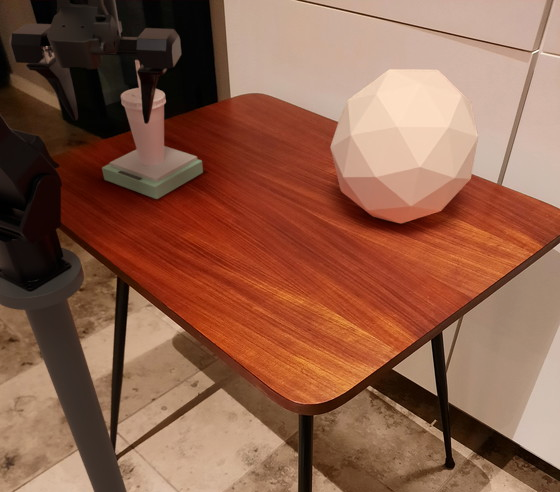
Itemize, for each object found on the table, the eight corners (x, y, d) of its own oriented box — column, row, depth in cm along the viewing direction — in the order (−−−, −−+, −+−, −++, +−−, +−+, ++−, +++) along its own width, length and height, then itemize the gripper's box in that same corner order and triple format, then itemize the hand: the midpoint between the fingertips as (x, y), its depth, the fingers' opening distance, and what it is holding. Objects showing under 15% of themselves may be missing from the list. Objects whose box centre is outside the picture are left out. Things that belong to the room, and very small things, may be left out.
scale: (156, 199, 84) (154, 183, 82) (104, 179, 88) (100, 163, 86) (203, 172, 90) (201, 156, 88) (152, 155, 94) (149, 140, 92)
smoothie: (165, 149, 90) (153, 52, 80) (178, 165, 86) (167, 65, 76) (126, 155, 88) (109, 57, 78) (137, 172, 84) (121, 71, 74)
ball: (419, 251, 88) (532, 172, 72) (324, 243, 75) (436, 146, 60) (381, 149, 92) (481, 55, 77) (286, 126, 80) (381, 8, 65)
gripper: (-36, -15, 55) (14, 144, 66) (153, -8, 54) (171, 151, 65) (9, -36, 63) (47, 109, 74) (174, -30, 62) (188, 115, 73)
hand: (111, 121), depth 71 cm, fingers open, 9 cm apart
